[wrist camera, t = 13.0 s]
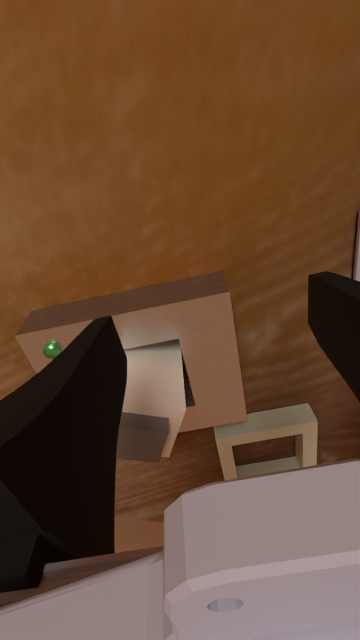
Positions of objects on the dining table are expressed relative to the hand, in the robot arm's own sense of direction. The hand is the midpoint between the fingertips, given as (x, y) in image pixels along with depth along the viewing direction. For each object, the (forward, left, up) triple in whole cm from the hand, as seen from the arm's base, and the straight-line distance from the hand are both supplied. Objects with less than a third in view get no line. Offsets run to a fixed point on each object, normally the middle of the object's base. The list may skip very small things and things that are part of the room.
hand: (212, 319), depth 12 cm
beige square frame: (-3, +21, -9) cm, 23 cm away
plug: (+5, +8, -10) cm, 13 cm away
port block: (+5, +8, -9) cm, 13 cm away
